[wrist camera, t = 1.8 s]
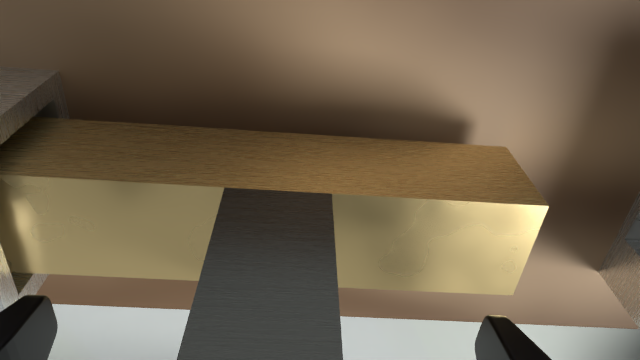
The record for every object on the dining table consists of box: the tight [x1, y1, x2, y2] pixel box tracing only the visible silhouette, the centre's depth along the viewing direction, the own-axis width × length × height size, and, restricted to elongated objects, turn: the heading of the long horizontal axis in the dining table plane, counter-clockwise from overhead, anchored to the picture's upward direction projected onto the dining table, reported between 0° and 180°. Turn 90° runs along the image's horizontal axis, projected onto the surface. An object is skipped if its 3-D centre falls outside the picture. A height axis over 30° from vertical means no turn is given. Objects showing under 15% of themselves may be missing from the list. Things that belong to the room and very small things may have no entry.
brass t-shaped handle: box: [0, 117, 549, 360], centre depth 11 cm, size 3×22×8 cm, turn 85°
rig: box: [0, 67, 640, 329], centre depth 13 cm, size 8×32×5 cm, turn 85°
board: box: [0, 0, 640, 329], centre depth 16 cm, size 14×34×1 cm, turn 85°
